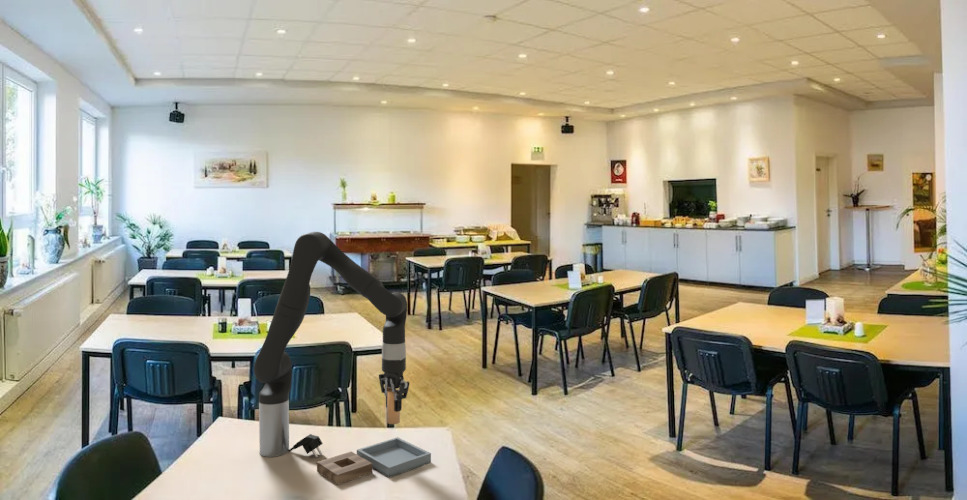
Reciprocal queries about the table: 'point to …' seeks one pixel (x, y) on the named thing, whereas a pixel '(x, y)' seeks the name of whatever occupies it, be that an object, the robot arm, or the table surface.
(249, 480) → the table surface
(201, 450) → the table surface
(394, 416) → the orange plug
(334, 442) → the table surface
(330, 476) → the wooden square hole block
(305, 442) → the power plug
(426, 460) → the slate tray
